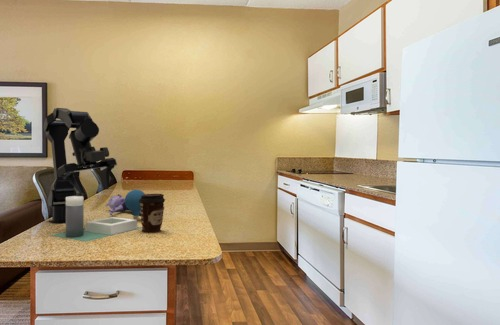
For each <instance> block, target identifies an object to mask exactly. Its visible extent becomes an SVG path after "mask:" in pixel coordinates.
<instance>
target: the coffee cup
mask: <svg viewBox="0 0 500 325" xmlns="http://www.w3.org/2000/svg"><path fill="white" fill-rule="evenodd" d="M165 201H166V199H165V198H164V194H162V193H145V194H144V195H142V196H141V199H139V203H140V206H141V214H140V218H141V219H140V221H141V225H142V226H141V227H142V228H141V232H142V233H147V234H151V233H152V234H153V233H154V234H155V233H160V232H161V231H162V230H161V228H162V224H163V220H164V219H163V218H164V211H165V206H164V205H165V204H164V202H165ZM163 210H164V211H163Z"/></svg>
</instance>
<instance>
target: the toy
mask: <svg viewBox="0 0 500 325" xmlns="http://www.w3.org/2000/svg"><path fill="white" fill-rule="evenodd" d="M108 206H109V208H110V209H109V212H108V213H109V215H110V216H113V214H114V213H115V212H120V211H123V212H128V211H129V212H130V213H131V214H132V211H131V210H129V209H128V208H127V207H126V205H125V197H124V196H122V195H121V194H117V195H113V196H111V197H110V199H109V200H108V202H107V204H105V205H104V208H107V207H108ZM164 211H165V209H164V210H163V212H164ZM139 215H141V211H140V213H139Z"/></svg>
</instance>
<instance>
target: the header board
mask: <svg viewBox="0 0 500 325" xmlns="http://www.w3.org/2000/svg"><path fill="white" fill-rule="evenodd" d="M84 226H85V227H84V235H83V236H81V237H74V238H69V237H66V231H64V232H59V233H53V234H50V235H49V236H50V237H51V236H52V237H56V238H60V239H61V238H62V239H68V240H73V241H74V240H75V241H79V242H85V243H87V242H90V241H91V242H92V241H94V240H98V239H99V240H100V239H103V238H106V237H111V236H115V235H118V234H123V233H127V232H128V233H129V232H131V231H135V230H139V229H142V226H138V220H134V218H133V219H130V218H124V217H116V216H108V217H104V218H99V219H94V220H88V221H85V224H84Z"/></svg>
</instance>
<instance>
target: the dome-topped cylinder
mask: <svg viewBox="0 0 500 325" xmlns="http://www.w3.org/2000/svg"><path fill="white" fill-rule="evenodd" d="M84 203H85V202H84V196H83V195H76V196H68V197H66V222H65V232H66V237H69V238H74V237H81V236H83V235H84V228H85V227H84V226H85V224H84V220H85V219H84V216H85V215H84V213H85V212H84V207H85V206H84Z"/></svg>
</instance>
